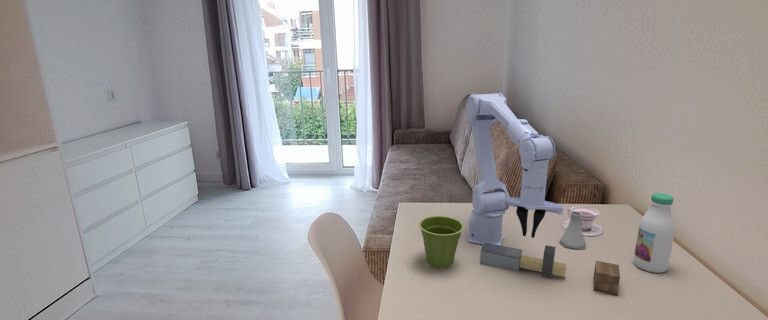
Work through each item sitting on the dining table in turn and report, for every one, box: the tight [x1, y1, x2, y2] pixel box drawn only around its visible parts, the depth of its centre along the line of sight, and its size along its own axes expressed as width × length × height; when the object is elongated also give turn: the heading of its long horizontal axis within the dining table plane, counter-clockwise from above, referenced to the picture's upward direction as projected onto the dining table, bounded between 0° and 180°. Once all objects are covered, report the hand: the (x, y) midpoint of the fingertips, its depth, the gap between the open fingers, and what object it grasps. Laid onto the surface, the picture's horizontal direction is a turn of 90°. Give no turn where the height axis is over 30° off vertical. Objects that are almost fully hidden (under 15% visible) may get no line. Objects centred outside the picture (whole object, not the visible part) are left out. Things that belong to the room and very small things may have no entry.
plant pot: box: [418, 215, 465, 269], centre depth 110 cm, size 12×12×11 cm
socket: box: [592, 260, 621, 297], centre depth 100 cm, size 5×6×5 cm
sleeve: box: [479, 243, 523, 273], centre depth 110 cm, size 10×4×4 cm, turn 64°
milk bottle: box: [632, 192, 676, 274], centre depth 107 cm, size 8×8×20 cm
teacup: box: [561, 205, 604, 237], centre depth 131 cm, size 12×12×6 cm
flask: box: [559, 211, 586, 250], centre depth 120 cm, size 7×7×10 cm
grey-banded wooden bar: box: [519, 245, 567, 279], centre depth 107 cm, size 20×4×7 cm, turn 64°
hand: (528, 235), depth 105 cm, fingers closed
